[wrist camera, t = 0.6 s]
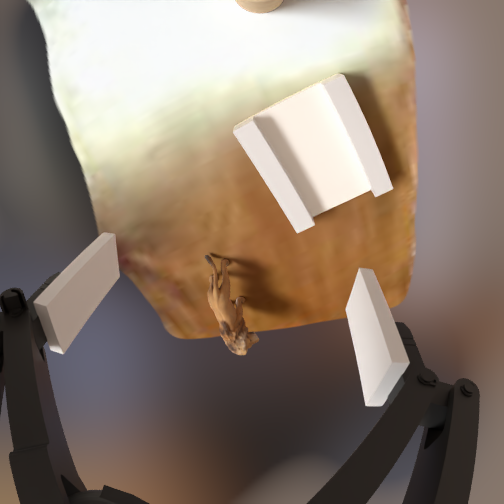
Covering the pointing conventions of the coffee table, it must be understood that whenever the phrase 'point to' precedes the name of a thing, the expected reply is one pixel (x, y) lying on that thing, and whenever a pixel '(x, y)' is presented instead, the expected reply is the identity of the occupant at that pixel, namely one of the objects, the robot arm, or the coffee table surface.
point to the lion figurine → (229, 312)
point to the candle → (259, 5)
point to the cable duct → (314, 150)
